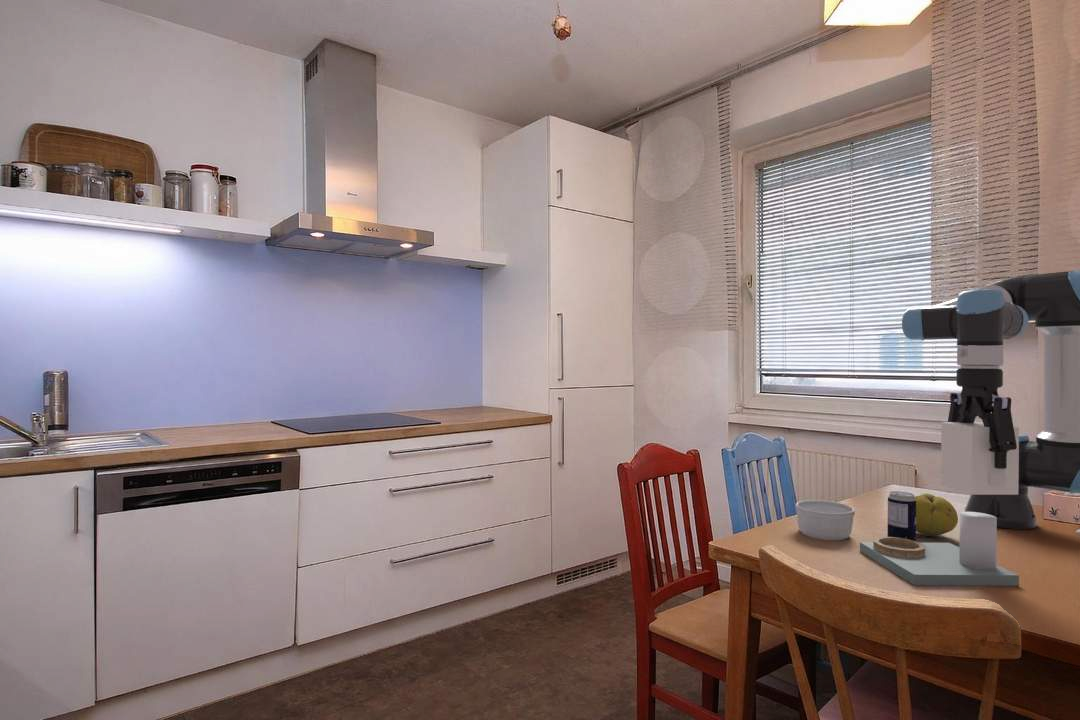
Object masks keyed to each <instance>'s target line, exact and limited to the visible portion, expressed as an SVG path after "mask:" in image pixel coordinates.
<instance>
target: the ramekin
mask: <svg viewBox="0 0 1080 720" xmlns="http://www.w3.org/2000/svg"><path fill="white" fill-rule="evenodd" d="M795 510H796V518H797V526H798V529H799V530H800V532H801V533H802V535H804V536H807V537H808V538H809V537H810V538H813V539H818V540H824V541H843V540H846V539H848V538H849V537H850V535H851V533H852V529H853V522H854V517H855V514H856V513H855V512H856V511H855V508H854V507H852V506H851V505H848V504H846V503H841V502H838V501H837V502H836V501H832V500H820V499H807V500H800V501H797V502H796V503H795Z"/></svg>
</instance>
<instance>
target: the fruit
mask: <svg viewBox="0 0 1080 720" xmlns="http://www.w3.org/2000/svg"><path fill="white" fill-rule="evenodd" d="M914 497H915V499H916V533H919V534H922V535H923V536H928V537H937V536H942V535H945V534H947V533H949V532H952V531H953V530H954V529H955V528H956V527H957V525H958V523H959V517H958V513H957V510H956V508H955V507H954V505H953V504H951V502H950V501H948V500H947V499H945V498H943V497H941V496H936V495H934V494H931V493H922V494H919V495H914Z"/></svg>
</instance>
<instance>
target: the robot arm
mask: <svg viewBox="0 0 1080 720" xmlns="http://www.w3.org/2000/svg"><path fill="white" fill-rule="evenodd" d="M1031 321H1032V322H1033V321H1035V329H1036V330H1037V331H1039V332H1040V333H1041V334H1042V335H1043V337H1042V338H1043V339H1042V340H1043V343H1042V344H1043V346H1042V347H1043V349H1042V350H1043V352H1042V353H1043V430H1041V431H1040V432H1039V433H1038V434H1036V436H1035V441H1034V440H1030V438H1029V435H1027V434H1021V433H1019V479H1018V495H971V494H970V496H969V499H968V501H967V504H966V506H965V508H964V512H978V513H985V514H989V515H993V516H995V517H996V518H997V528H1001V529H1002V528H1003V529H1013V530H1029V529H1031V530H1032V529H1034V528H1036V527H1037V517H1036V515H1035V512H1034V509H1033V506H1032V503H1031V500H1030V498H1029V487H1030V488H1036V489H1044V490H1050V491H1057V492H1064V493H1069V494H1070V495H1071V494H1072V495H1073V494H1078V495H1080V270H1070V271H1069V270H1067V271H1060V272H1059V271H1058V272H1049V273H1037V274H1026V275H1025V274H1023V275H1017V276H1012V277H1008V278H1004V279H1001V280H997V281H994V282H992V283H988V284H985V285H982V286H979V287H977V288H976V289H970V290H965V291H962V292H960V293H959V294H958V296H957V298H954V299H951V300H947V301H945V302H941V303H938V304H934V305H932V306H919V307H910V308H908V309H906V310H905V311H904V313H903V315H902V319H901V328H902V332H903V335H904V336H905V337H906V338H907V339H909V340H918V341H919V340H920V341H926V340H927V341H928V340H930V341H931V340H956V346H957V347H956V348H957V349H956V350H957V351H956V365H957V366H960V368H957V369H956V383H955V384H956V386H958V387H960V388H961V392H950V394H949V397H950V398H949V399H950V400H949V401H950V406H949V411H948V419H947V422H960V423H974V422H976V421H975V420H976V418H977V417H978V418H979V419H981V422H983V424H984V427H989V442H990V445H991V448H990V449H988V450H989V451H988V484H989V485H1005V469H1006V466H1007V452H1008V451H1009V450H1015V449H1016V448H1017V445H1016V439H1015V433H1014V427H1015V426H1014V423H1013V421H1014V420H1013V416H1012V409H1011V408H1012V398H1011V397H1009V396H1007V397H1003V396H999V393H998V389H999V388H1002V387H1003V385H1004V382H1003V381H1004V371H1003V370H1002V368H1000V367H1002V366H1004V340H1009V339H1014V338H1017V337H1018V336H1020V335H1022V334H1023V333H1024V332H1025V331H1026V329H1028V326H1029V322H1031ZM1007 442H1009V443H1007ZM998 443H999V445H998Z"/></svg>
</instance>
